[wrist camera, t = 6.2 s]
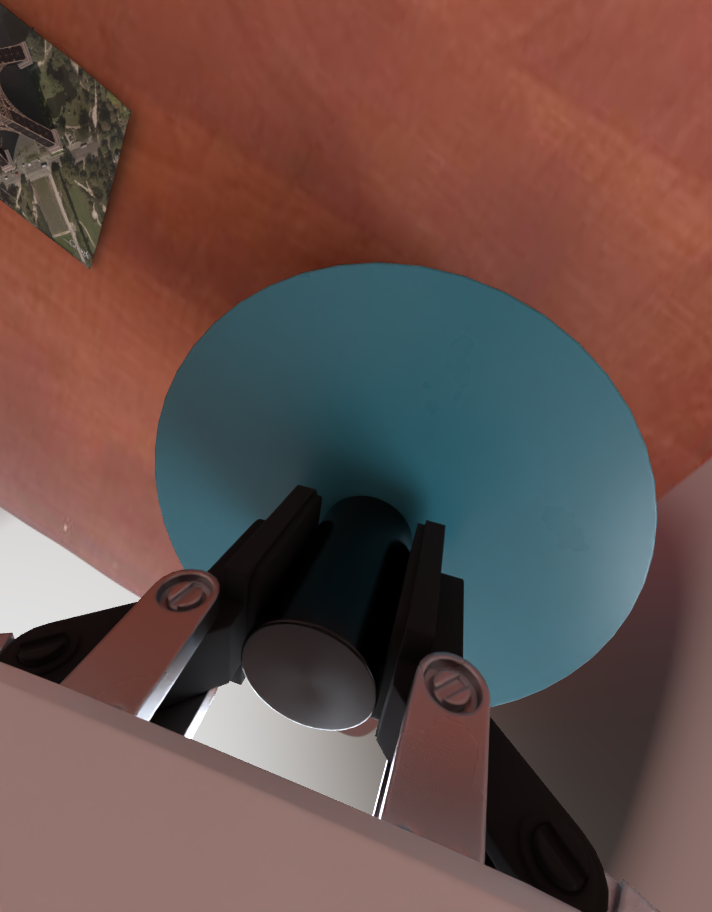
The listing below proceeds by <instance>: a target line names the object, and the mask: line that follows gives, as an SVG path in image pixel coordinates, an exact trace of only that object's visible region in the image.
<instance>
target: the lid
mask: <svg viewBox="0 0 712 912" xmlns="http://www.w3.org/2000/svg"><path fill="white" fill-rule="evenodd" d="M155 478H156V486H157V494H158V500H159V504H160V508H161V512H162V516H163V520H164V524H165V527H166V529H167V532H168V535H169V538H170V540H171V543H172V546H173V548H174V550H175V552H176V554H177V556H178V558H179V560H180V562H181V564H182V566H183V568H184V569H198V570H204V571H206V572H207V571H208V570H209V569H210V568H211V567H212V566H213V565H214V564H215V563H216V562H217V561H218V560H219V558H220V557H221V556H222V555H223V554H224V553H225V552H226V551H227V550H228V549H229V548H230V547H231V546H232V545H233V544H234V543H235V542H236V541H237V540H238V538H239V537H240V536H241V535H242V534H243V533H244V532H245V531H246V530H247V529H248V528H249V527H250V526H251V525H252V524H253V523H254V522H255V521H256V520H257V519H263V520H266V519H267V518H268V517H269V516H270V515H271V514H272V513H273V511H274V510H275V509H276V508H277V507H278V506H279V505H280V504H281V503H282V502H283V500H284V499H285V498H286V497H287V496H288V495H289V494H290V493H291V492H292V490H293V489H294V488H295V487H296V486H297V485H302V486H306V487H309V488H313V489H316V490H317V495H320V496H322V504H321V511H320V518H319V525H318V527H317V529H316V530H315V532H314V533H313V535H312V536H311V538H310V540H309V541H308V543H307V544H306V546H305V547H304V549H303V550H302V552H301V553H300V555H299V556H298V558H297V559H296V561H295V563H294V564H293V566H292V567H291V569H290V570H289V572H288V573H287V575H286V576H285V578H284V579H283V581H282V583H281V584H280V586H279V587H278V589H277V590H276V592H275V593H274V595H273V596H272V598H271V599H270V601H269V602H268V604H267V606H266V607H265V609H264V610H263V612H262V613H261V615H260V616H259V618H258V619H257V621H256V622H255V624H254V625H253V627H252V629H251V630H250V632H249V633H248V635H247V636H246V638H245V640H244V642H243V645H242V651H241V663H242V668H243V671H244V674H245V676H246V678H247V680H248V682H249V684H250V685H251V687H252V688H253V690H254V691H255V692H256V693H257V695H258V696H259V697H260V698H261V699H262V700H263V701H264V702H265V703H266V704H268V705H269V706H270V707H271V708H272V709H274V710H275V711H277V712H278V713H280V714H281V715H283V716H285V717H286V718H288V719H290V720H292V721H295V722H297V723H299V724H302V725H305V726H308V727H312V728H316V729H321V730H344V729H349V728H353V727H355V726H358V725H360V724H361V723H363V722H364V721H366V720H367V719H368V718H369V717H370V716H371V714H372V713H373V712H374V710H375V708H376V706H377V703H378V699H379V695H380V690H381V685H382V681H383V676H384V664H385V660H386V656H387V651H388V647H389V642H390V638H391V634H392V629H393V625H394V620H395V616H396V611H397V607H398V603H399V598H400V594H401V589H402V585H403V581H404V576H405V572H406V567H407V563H408V558H409V554H410V550H411V546H412V543H413V539H414V535H415V531H416V528H417V524H418V523H421V524H424V525H425V523H426V520H429V521H432V522H436V523H440V524H443V525H446V527H445V538H444V548H443V558H442V569H441V573H444V574H447V575H451V576H454V577H457V578H461V579H463V580H464V630H463V658H464V659H466V660H467V661H469V662H470V663H471V664H472V665H473V666H474V667H476V668H477V670H478V671H479V672H480V673H481V675H482V676H483V677H484V679H485V681H486V684H487V686H488V688H489V693H490V707H493V706H496V705H500V704H504V703H507V702H511V701H515V700H518V699H520V698H523V697H525V696H528V695H531V694H533V693H535V692H538V691H540V690H543V689H545V688H547V687H549V686H550V685H552V684H554V683H556V682H558V681H559V680H561V679H563V678H565V677H566V676H568V675H569V674H571V673H572V672H574V671H575V670H576V669H578V668H579V667H580V666H582V665H583V664H584V663H586V662H587V661H588V660H589V659H591V658H592V657H593V656H594V655H595V654H596V653H597V652H598V651H599V650H600V649H601V648H602V647H603V646H604V645H605V644H606V643H607V642H608V641H609V640H610V639H611V638H612V637H613V636H614V634H615V633H616V631H617V630H618V629H619V627H620V626H621V624H622V623H623V622H624V620H625V619H626V618H627V616H628V615H629V613H630V612H631V610H632V608H633V606H634V604H635V602H636V600H637V598H638V596H639V594H640V592H641V590H642V588H643V586H644V583H645V580H646V577H647V573H648V570H649V567H650V563H651V560H652V556H653V553H654V544H655V535H656V526H657V504H656V488H655V480H654V476H653V472H652V468H651V464H650V459H649V455H648V451H647V447H646V444H645V442H644V440H643V437H642V435H641V433H640V431H639V428H638V426H637V424H636V421H635V419H634V417H633V414H632V412H631V410H630V408H629V407H628V405H627V404H626V402H625V400H624V399H623V397H622V396H621V394H620V393H619V391H618V390H617V388H616V387H615V385H614V384H613V382H612V381H611V379H610V377H609V376H608V374H607V373H606V372H605V371H604V370H603V369H602V368H601V367H600V366H599V364H598V363H597V362H596V361H595V360H594V359H593V358H592V357H591V356H590V355H589V353H588V352H587V351H586V350H585V349H584V348H583V347H582V346H581V345H580V344H579V342H577V341H576V340H575V339H574V338H572V337H571V336H570V335H569V334H567V333H566V332H565V331H564V330H562V329H561V328H560V327H559V326H558V325H556V324H555V323H554V322H553V321H551V320H550V319H549V318H548V317H546V316H545V315H544V314H542V313H540V312H539V311H537V310H535V309H533V308H532V307H530V306H528V305H527V304H525V303H523V302H522V301H520V300H518V299H516V298H515V297H513V296H511V295H510V294H508V293H506V292H504V291H501V290H499V289H496V288H494V287H491V286H489V285H486V284H484V283H481V282H479V281H476V280H474V279H471V278H469V277H466V276H463V275H459V274H455V273H451V272H447V271H442V270H438V269H434V268H430V267H426V266H420V265H408V264H397V263H386V262H373V263H356V264H340V265H335V266H331V267H326V268H322V269H317V270H312V271H308V272H303V273H300V274H298V275H295V276H292V277H290V278H287V279H285V280H282V281H279V282H277V283H274V284H271V285H269V286H267V287H265V288H264V289H262V290H260V291H258V292H257V293H255V294H253V295H251V296H250V297H248V298H246V299H245V300H243V301H241V302H239V303H238V304H237V305H236V306H234V307H233V308H232V309H231V310H229V311H228V312H227V313H226V314H224V315H223V316H222V317H221V318H220V319H218V320H217V321H216V322H215V323H214V324H213V325H212V326H211V327H210V328H209V329H208V330H207V331H206V332H205V334H204V335H203V336H202V337H201V338H200V339H199V340H198V341H197V342H196V344H195V345H194V346H193V347H192V349H191V350H190V352H189V353H188V355H187V357H186V358H185V360H184V361H183V363H182V364H181V366H180V367H179V369H178V370H177V372H176V375H175V377H174V379H173V381H172V384H171V386H170V388H169V390H168V392H167V395H166V397H165V401H164V405H163V408H162V412H161V415H160V419H159V422H158V430H157V437H156V445H155Z"/></svg>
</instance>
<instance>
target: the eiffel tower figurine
mask: <svg viewBox="0 0 712 912" xmlns="http://www.w3.org/2000/svg"><path fill="white" fill-rule="evenodd" d="M130 114H131V111H130V110H129V109H128V108H127V107H126V106H125V105H124V104H123V103H121V102H120V101H119V100H118V99H117V98H116V97H115V96H114V95H112V94H111V93H110V92H109V91H108V90H107V89H106V88H104V87H103V86H102V85H101V84H100V83H99V82H98V81H96V80H95V79H94V78H93V77H92V76H91V75H89V74H88V73H87V72H86V71H85V70H83V69H82V68H81V67H80V66H79V65H77V64H76V63H75V62H74V61H72V60H71V59H70V58H69V57H67V56H66V55H65V54H63V53H62V52H61V51H60V50H58V49H57V48H56V47H54V46H53V45H52V44H50V43H49V42H48V41H47V40H45V39H44V38H43V37H42V36H40V35H39V34H38V33H36V32H35V30H34V27H32V28H30V27H29V26H28V25H26V24H25V23H24V22H23V21H21V20H20V19H19V18H18V17H16V16H15V15H14V14H13V13H11V12H10V11H9V10H8V9H7V8H5V7H4V6H3V5H2V4H1V3H0V200H2V201H3V202H4V203H6V204H7V205H8V206H9V207H11V208H12V209H13V210H15V211H16V212H17V213H18V214H20V215H21V216H22V217H24V218H25V219H26V220H27V221H29V222H30V223H31V224H33V225H34V226H35V227H36V228H38V229H39V230H40V231H42V232H43V233H44V234H45V235H47V236H48V237H49V238H51V239H52V240H53V241H55V242H56V243H57V244H58V245H60V246H61V247H62V248H64V249H65V250H66V251H68V252H69V253H70V254H71V255H73V256H74V257H75V258H77V259H78V260H79V261H80V262H82V263H83V264H84V265H86V266H87V267H88V268H89V269H90V267H91V263H92V260H93V256H94V253H95V249H96V246H97V242H98V238H99V234H100V231H101V227H102V223H103V219H104V215H105V211H106V207H107V204H108V200H109V196H110V192H111V188H112V184H113V180H114V176H115V172H116V168H117V163H118V159H119V155H120V151H121V147H122V143H123V139H124V135H125V131H126V127H127V124H128V120H129V117H130Z"/></svg>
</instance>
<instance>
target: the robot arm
mask: <svg viewBox="0 0 712 912" xmlns="http://www.w3.org/2000/svg"><path fill="white" fill-rule="evenodd" d="M321 504H322V496H320V495H317V490H316V489H313V488H309V487H306V486H302V485H297V486H296V487H295V488H294V489H293V490H292V492H291V493H290V494H289V495H288V496H287V497H286V498H285V499H284V500H283V502H282V503H281V504H280V505H279V506H278V507H277V508H276V509H275V510H274V511H273V513H272V514H271V515H270V516H269V517H268V518H267V519H266V520H263V519H257V520H256V521H255V522H254V523H253V524H252V525H251V526H250V527H249V528H248V529H247V530H246V531H245V532H244V533H243V534H242V535H241V536H240V537H239V538H238V540H237V541H236V542H235V543H234V544H233V545H232V546H231V547H230V548H229V549H228V550H227V551H226V552H225V553H224V554H223V555H222V556H221V557H220V558H219V560H218V561H217V562H216V563H215V564H214V565H213V566H212V567H211V568H210V569H209V570H208V571H207V572H206V571H204V570H198V569H184V570H179V571H176V572H172V573H170V574H168V575H166V576H164V577H162V578H161V579H160V580H159V581H157V582H156V583H155V584H154V585H153V586H152V587H151V588H150V589H149V590H148V591H147V592H146V594H145V595H144V596H143V597H142V598H141V599H140V600H139V601H138V602H135V603H131V604H127V605H122V606H118V607H115V608H110V609H106V610H102V611H98V612H94V613H90V614H85V615H81V616H77V617H73V618H69V619H65V620H60V621H56V622H52V623H48V624H45V625H42V626H39V627H36V628H33V629H32V630H30V631H28V632H26V633H24V634H22V635H20V636H19V637H18V638H16V639H14V636H13V633H3V634H0V912H660V911H659V910H658V909H656V908H655V907H654V906H653V905H652V904H651V903H650V902H649V901H647V900H646V899H645V898H644V897H643V896H642V895H641V894H640V893H639V892H637V891H636V890H635V889H634V888H633V887H632V886H631V885H630V884H628V883H627V882H626V881H625V880H622V882H620V884H618V883H617V882H616V881H615V880H614V879H613V878H612V877H611V876H609V875H608V874H607V873H606V872H605V871H604V869H603V867H602V864H601V862H600V860H599V858H598V856H597V853H596V851H595V849H594V848H593V846H592V845H591V843H590V842H589V840H588V839H587V838H586V836H585V835H584V833H583V832H582V830H581V829H580V828H579V827H578V825H577V824H576V823H575V822H574V820H573V819H572V818H571V817H570V815H569V814H568V813H567V812H566V810H565V809H564V808H563V807H562V805H561V804H560V803H559V802H558V801H557V799H556V798H555V797H554V796H553V794H552V793H551V792H550V791H549V789H548V788H547V787H546V786H545V785H544V783H543V782H542V781H541V779H540V778H539V777H538V776H537V774H536V773H535V772H534V771H533V770H532V768H531V767H530V766H529V764H528V763H527V762H526V761H525V760H524V758H523V757H522V756H521V755H520V753H519V752H518V751H517V750H516V748H515V747H514V746H513V745H512V743H511V742H510V741H509V740H508V739H507V737H506V736H505V735H504V733H503V732H502V731H501V730H500V728H499V727H498V726H497V725H496V724H495V722H494V721H493V720H492V718H491V717H490V693H489V688H488V686H487V684H486V681H485V679H484V677H483V676H482V675H481V673H480V672H479V671H478V670H477V668H476V667H474V666H473V665H472V664H471V663H470V662H469V661H467V660H466V659H464V658H463V630H464V580H463V579H461V578H457V577H454V576H451V575H447V574H444V573H441V569H442V558H443V548H444V538H445V527H446V525H443V524H440V523H436V522H432V521H429V520H426V523H425V525H424V524H421V523H418V524H417V528H416V531H415V535H414V539H413V543H412V546H411V550H410V554H409V558H408V563H407V567H406V572H405V576H404V581H403V585H402V589H401V594H400V598H399V603H398V607H397V611H396V616H395V620H394V625H393V629H392V634H391V638H390V642H389V647H388V651H387V656H386V660H385V664H384V676H383V681H382V685H381V690H380V695H379V699H378V703H377V706H376V708H375V710H374V712H373V713H372V714H371V716H370V717H371V718H374V719H376V720H379V721H378V725H377V730H376V735H375V736H376V737H377V742H378V744H379V745H380V747H381V749H382V751H383V753H384V755H385V757H386V758H387V762H386V766H385V770H384V773H383V777H382V781H381V785H380V789H379V793H378V797H377V801H376V804H375V808H374V812H373V816H372V815H369V814H367V813H365V812H362V811H360V810H358V809H355V808H353V807H351V806H348V805H346V804H344V803H341V802H339V801H337V800H334V799H332V798H329V797H327V796H325V795H323V794H320V793H318V792H316V791H313V790H311V789H309V788H306V787H304V786H301V785H299V784H297V783H294V782H292V781H289V780H287V779H285V778H282V777H280V776H278V775H275V774H273V773H271V772H268V771H266V770H263V769H261V768H259V767H256V766H254V765H252V764H249V763H247V762H244V761H242V760H240V759H237V758H235V757H233V756H230V755H228V754H225V753H223V752H221V751H218V750H216V749H214V748H211V747H209V746H206V745H204V744H202V743H199V742H197V741H194V740H192V737H193V735H194V733H195V731H196V730H197V728H198V726H199V724H200V722H201V720H202V718H203V717H204V715H205V713H206V711H207V709H208V707H209V705H210V704H211V702H212V700H213V698H214V696H215V694H216V691H217V688H218V687H219V686H222V685H224V684H227V683H229V681H232V682H235V683H237V684H240V685H241V684H242V682H243V681H244V679H245V677H246V676H245V674H244V671H243V668H242V663H241V651H242V645H243V642H244V640H245V638H246V636H247V635H248V633H249V632H250V630H251V629H252V627H253V625H254V624H255V622H256V621H257V619H258V618H259V616H260V615H261V613H262V612H263V610H264V609H265V607H266V606H267V604H268V602H269V601H270V599H271V598H272V596H273V595H274V593H275V592H276V590H277V589H278V587H279V586H280V584H281V583H282V581H283V579H284V578H285V576H286V575H287V573H288V572H289V570H290V569H291V567H292V566H293V564H294V563H295V561H296V559H297V558H298V556H299V555H300V553H301V552H302V550H303V549H304V547H305V546H306V544H307V543H308V541H309V540H310V538H311V536H312V535H313V533H314V532H315V530H316V529H317V527H318V525H319V518H320V511H321Z"/></svg>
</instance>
